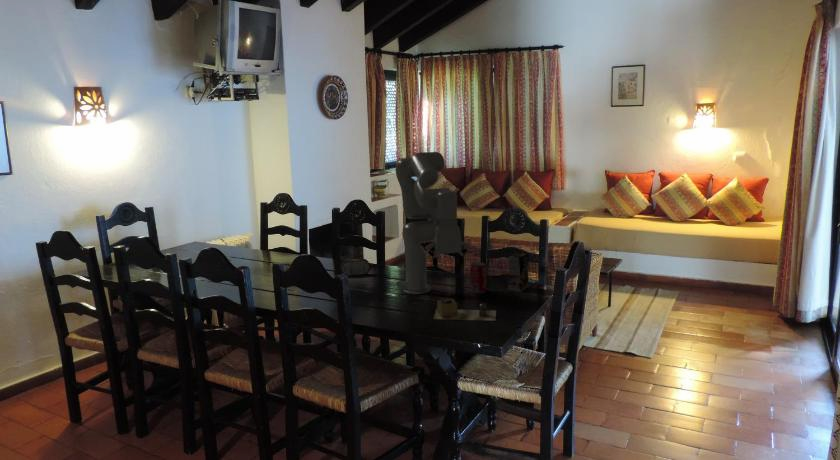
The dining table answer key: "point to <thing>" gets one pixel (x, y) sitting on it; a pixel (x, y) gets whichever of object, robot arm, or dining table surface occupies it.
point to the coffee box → (518, 272)
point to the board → (468, 315)
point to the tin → (355, 267)
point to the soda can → (478, 278)
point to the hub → (482, 310)
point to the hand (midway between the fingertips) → (447, 266)
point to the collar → (447, 308)
